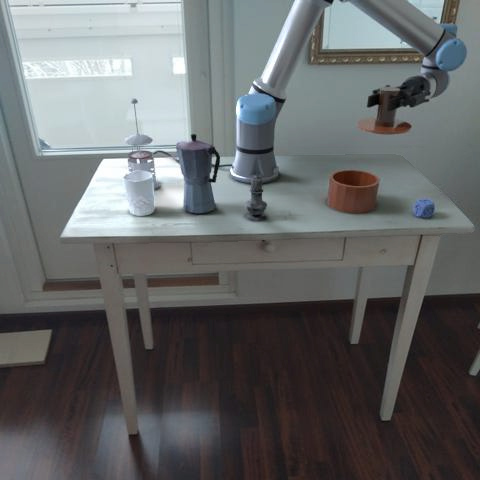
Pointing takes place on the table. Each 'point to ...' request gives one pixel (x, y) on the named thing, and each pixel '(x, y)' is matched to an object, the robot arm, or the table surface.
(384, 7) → the robot arm
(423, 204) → the decorative dice
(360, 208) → the pot
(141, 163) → the french press
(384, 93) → the lid
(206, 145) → the moka pot
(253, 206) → the salt shaker
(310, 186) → the table surface
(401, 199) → the table surface
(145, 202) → the white cup
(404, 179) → the table surface
